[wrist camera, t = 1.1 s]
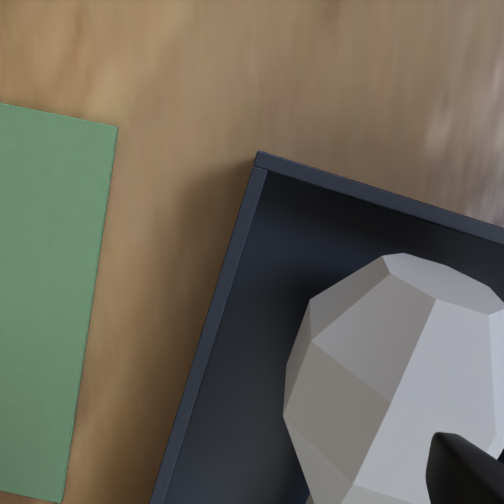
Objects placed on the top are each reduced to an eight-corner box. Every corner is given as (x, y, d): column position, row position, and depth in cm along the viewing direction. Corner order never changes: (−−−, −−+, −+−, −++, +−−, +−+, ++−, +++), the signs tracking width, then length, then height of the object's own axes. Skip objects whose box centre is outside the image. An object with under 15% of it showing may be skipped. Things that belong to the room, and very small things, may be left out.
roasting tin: (408, 655, 24) (430, 733, 20) (132, 567, 24) (109, 631, 20) (584, 258, 20) (646, 273, 17) (260, 155, 20) (257, 149, 17)
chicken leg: (188, 535, 24) (226, 754, 16) (289, 217, 17) (423, 349, 10) (324, 520, 27) (407, 698, 20) (452, 246, 20) (643, 362, 13)
